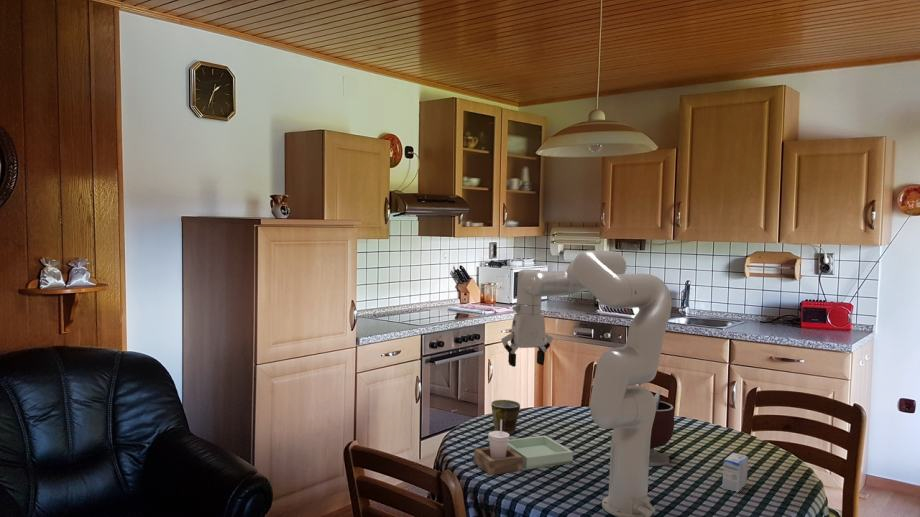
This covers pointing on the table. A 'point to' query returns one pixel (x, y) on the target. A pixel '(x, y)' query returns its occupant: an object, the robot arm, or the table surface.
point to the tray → (540, 452)
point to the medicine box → (735, 472)
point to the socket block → (498, 461)
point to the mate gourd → (661, 431)
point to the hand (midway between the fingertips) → (526, 365)
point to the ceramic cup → (505, 415)
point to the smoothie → (498, 443)
